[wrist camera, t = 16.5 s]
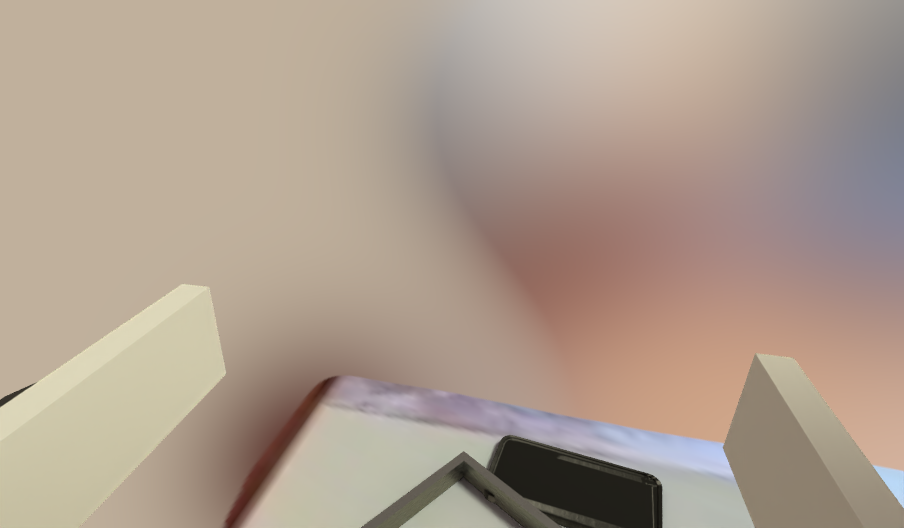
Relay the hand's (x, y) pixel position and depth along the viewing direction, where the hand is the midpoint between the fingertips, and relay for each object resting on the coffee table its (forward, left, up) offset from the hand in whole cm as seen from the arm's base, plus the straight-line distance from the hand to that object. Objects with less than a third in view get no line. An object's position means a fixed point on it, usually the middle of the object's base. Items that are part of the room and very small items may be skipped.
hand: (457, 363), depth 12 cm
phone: (+8, -24, -31) cm, 40 cm away
